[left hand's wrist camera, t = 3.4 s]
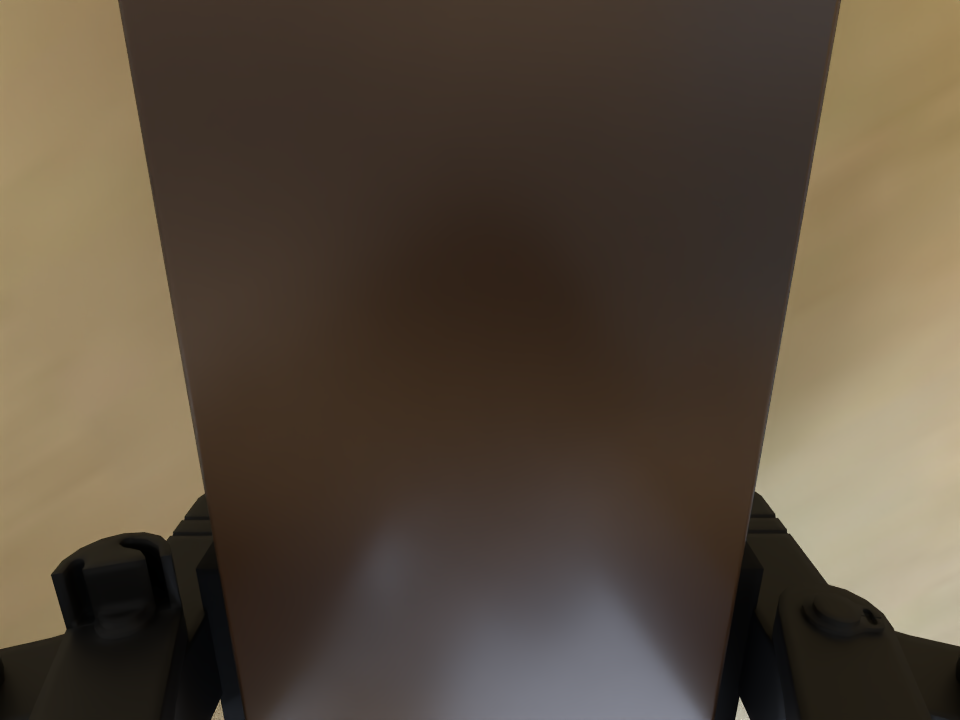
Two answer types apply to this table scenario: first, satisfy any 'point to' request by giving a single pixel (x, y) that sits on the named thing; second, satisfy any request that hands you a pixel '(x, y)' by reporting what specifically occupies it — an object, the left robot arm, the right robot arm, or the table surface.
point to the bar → (479, 334)
